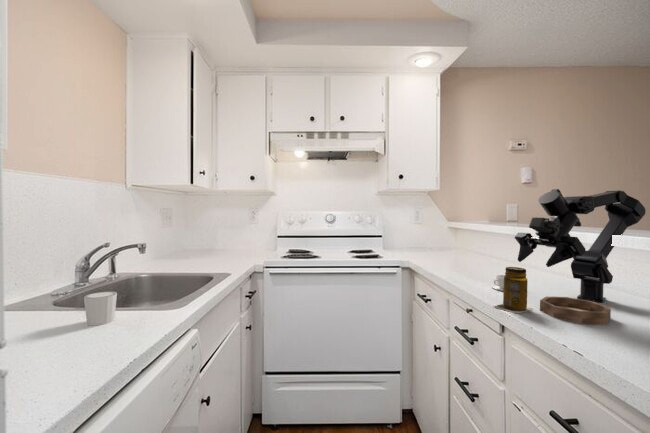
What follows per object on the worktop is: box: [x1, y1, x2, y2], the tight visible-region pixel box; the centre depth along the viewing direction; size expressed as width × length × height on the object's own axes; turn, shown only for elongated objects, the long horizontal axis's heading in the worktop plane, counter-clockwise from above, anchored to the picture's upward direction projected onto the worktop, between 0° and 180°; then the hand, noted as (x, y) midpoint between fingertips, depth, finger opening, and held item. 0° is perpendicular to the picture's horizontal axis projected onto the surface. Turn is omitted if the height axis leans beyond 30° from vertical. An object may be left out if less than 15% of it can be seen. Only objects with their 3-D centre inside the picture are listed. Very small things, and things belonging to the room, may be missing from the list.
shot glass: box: [83, 291, 118, 327], centre depth 79 cm, size 7×7×7 cm
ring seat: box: [539, 296, 612, 326], centre depth 86 cm, size 14×14×3 cm
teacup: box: [491, 274, 505, 292], centre depth 114 cm, size 10×10×5 cm
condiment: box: [493, 266, 533, 315], centre depth 91 cm, size 7×8×12 cm
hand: (532, 263), depth 93 cm, fingers open, 9 cm apart
